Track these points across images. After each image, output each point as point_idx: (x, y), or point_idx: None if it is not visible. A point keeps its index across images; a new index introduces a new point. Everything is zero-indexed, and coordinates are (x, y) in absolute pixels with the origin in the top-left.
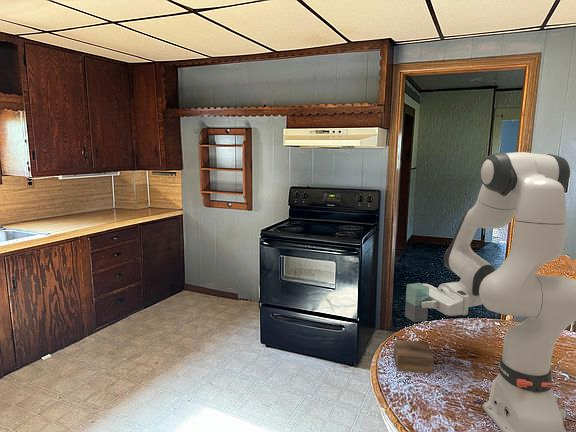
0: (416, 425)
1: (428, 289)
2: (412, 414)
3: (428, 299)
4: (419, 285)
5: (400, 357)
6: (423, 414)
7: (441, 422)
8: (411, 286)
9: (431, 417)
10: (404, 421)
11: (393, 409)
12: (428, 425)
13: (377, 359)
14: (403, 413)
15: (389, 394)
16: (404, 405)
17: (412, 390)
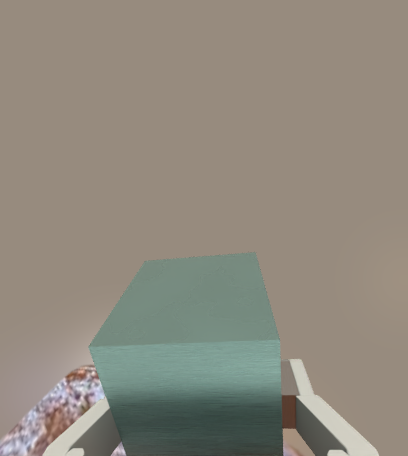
0: (60, 385)
1: (99, 354)
2: (79, 395)
3: (122, 441)
4: (199, 303)
5: None
6: (60, 416)
7: (17, 437)
8: (205, 259)
9: (42, 426)
10: (82, 372)
11: None
12: (41, 405)
13: (290, 446)
14: (93, 382)
15: None
16: (104, 396)
17: (122, 450)
